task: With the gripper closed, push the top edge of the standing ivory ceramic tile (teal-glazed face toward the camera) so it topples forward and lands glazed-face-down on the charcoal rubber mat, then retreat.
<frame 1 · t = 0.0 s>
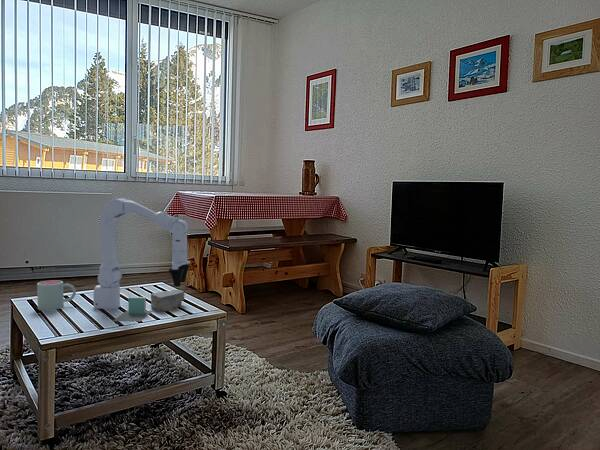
hand: (179, 284, 191), 10 cm above the table, fingers open, 7 cm apart
mug: (57, 307, 192), on the table
tile: (137, 312, 184), point 1 cm above the table, touching mat
mat: (133, 317, 180), on the table
decorative stone: (166, 309, 192), on the table
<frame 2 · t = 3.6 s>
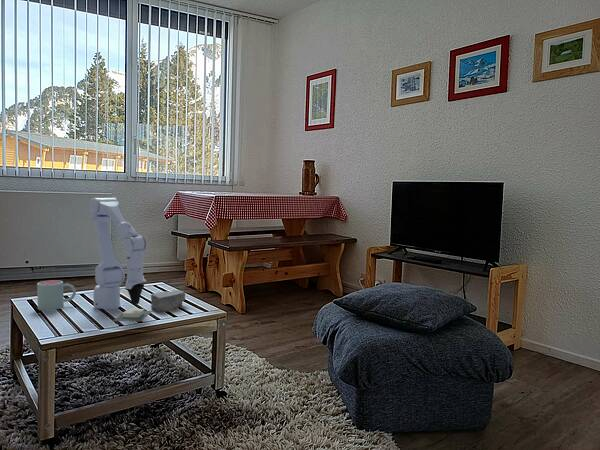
hand: (135, 303, 181), 5 cm above the table, fingers closed
tile: (136, 311, 183), point 1 cm above the table, tilted 90°, touching mat
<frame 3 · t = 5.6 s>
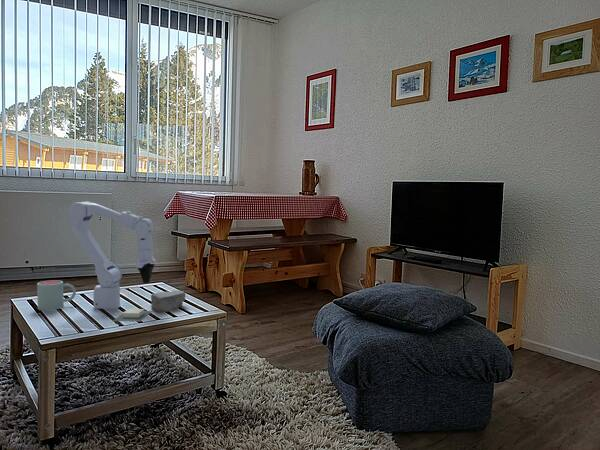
hand: (146, 282, 192), 10 cm above the table, fingers closed
nothing on the table moved.
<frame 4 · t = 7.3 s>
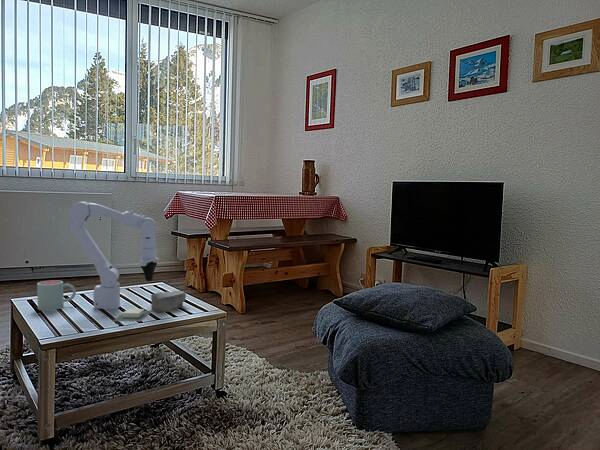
hand: (149, 280, 196), 10 cm above the table, fingers closed
at the end: tile tilted 90°; tile inside the target area (4.5 cm from its centre), point 1.5 cm above the table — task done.
